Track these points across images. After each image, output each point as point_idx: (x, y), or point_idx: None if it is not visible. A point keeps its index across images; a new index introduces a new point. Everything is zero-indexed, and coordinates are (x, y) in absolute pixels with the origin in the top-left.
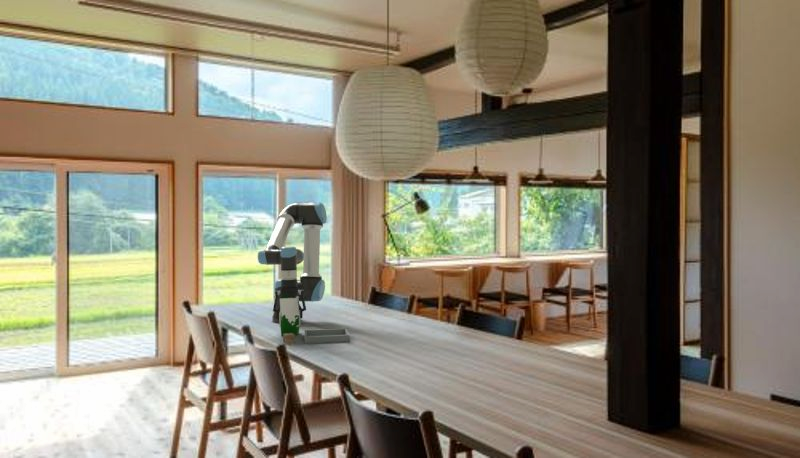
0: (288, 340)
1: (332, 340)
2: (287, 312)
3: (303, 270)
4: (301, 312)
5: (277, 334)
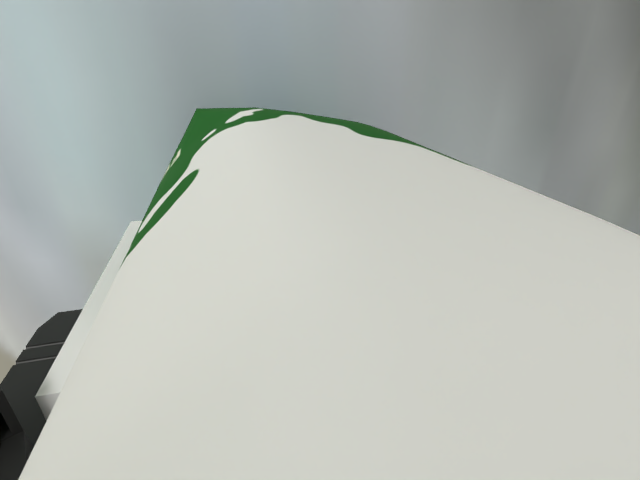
0: None
1: None
2: None
3: None
4: None
5: (120, 174)
